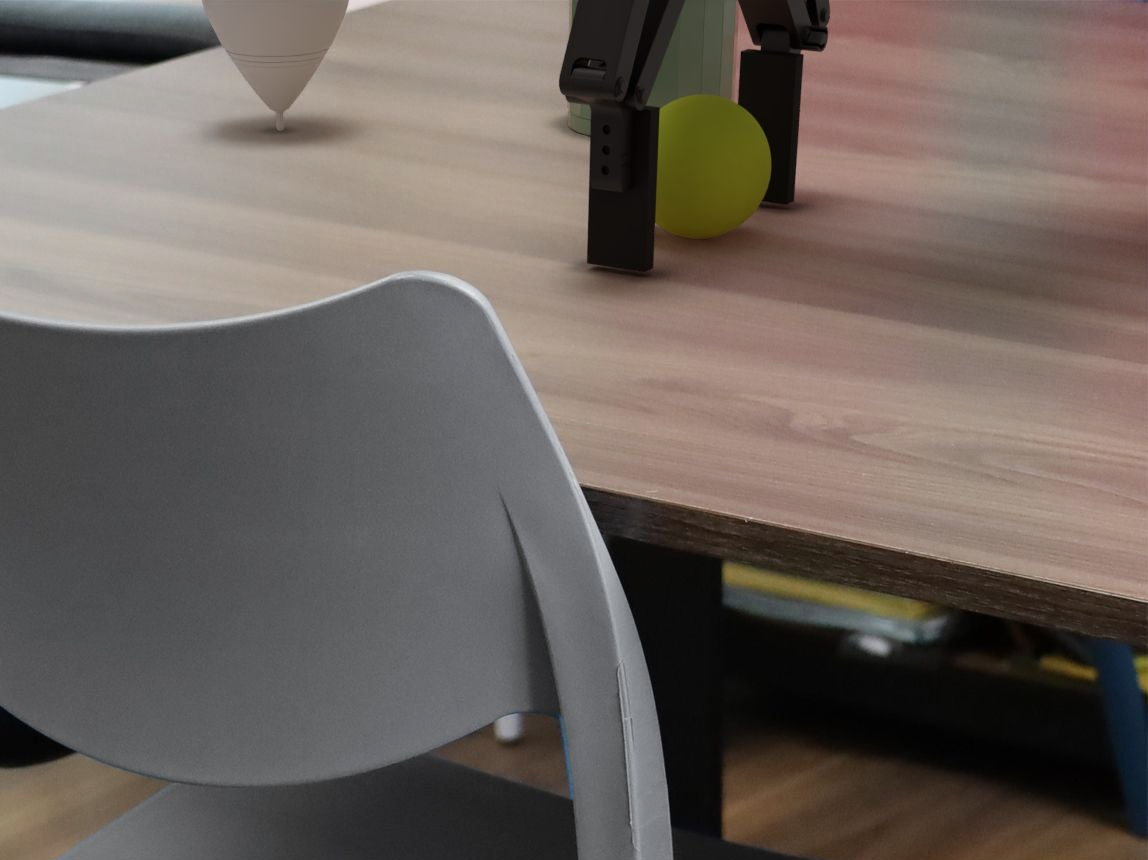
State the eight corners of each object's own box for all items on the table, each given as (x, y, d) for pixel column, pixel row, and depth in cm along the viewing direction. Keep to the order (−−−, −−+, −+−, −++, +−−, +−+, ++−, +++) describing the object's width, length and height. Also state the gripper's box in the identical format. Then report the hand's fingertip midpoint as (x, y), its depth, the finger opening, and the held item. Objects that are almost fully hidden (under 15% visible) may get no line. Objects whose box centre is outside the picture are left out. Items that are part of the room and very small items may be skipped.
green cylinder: (760, 118, 124) (772, -102, 119) (685, 148, 117) (694, -83, 113) (617, 102, 128) (623, -110, 123) (537, 130, 122) (540, -93, 117)
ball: (790, 230, 102) (798, 90, 100) (728, 261, 98) (736, 115, 95) (668, 214, 105) (673, 77, 103) (602, 242, 101) (606, 100, 98)
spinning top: (197, 119, 125) (186, -118, 120) (338, 112, 127) (332, -123, 121) (218, 149, 119) (206, -101, 113) (366, 141, 120) (361, -107, 115)
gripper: (770, -320, 103) (743, 166, 113) (472, -294, 85) (469, 284, 94) (932, -317, 99) (889, 184, 109) (656, -290, 81) (634, 312, 90)
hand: (695, 232), depth 101 cm, fingers open, 13 cm apart
